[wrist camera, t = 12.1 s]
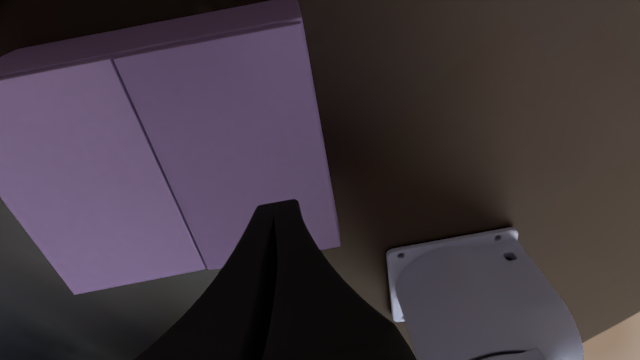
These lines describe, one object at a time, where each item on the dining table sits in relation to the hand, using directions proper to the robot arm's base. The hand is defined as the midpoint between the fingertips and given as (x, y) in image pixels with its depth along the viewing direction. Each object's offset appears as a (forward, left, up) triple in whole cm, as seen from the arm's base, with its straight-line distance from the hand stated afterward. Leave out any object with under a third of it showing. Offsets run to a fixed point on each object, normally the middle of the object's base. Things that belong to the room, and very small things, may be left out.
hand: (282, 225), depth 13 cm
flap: (+8, 0, -5) cm, 10 cm away
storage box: (+5, 0, -10) cm, 12 cm away
